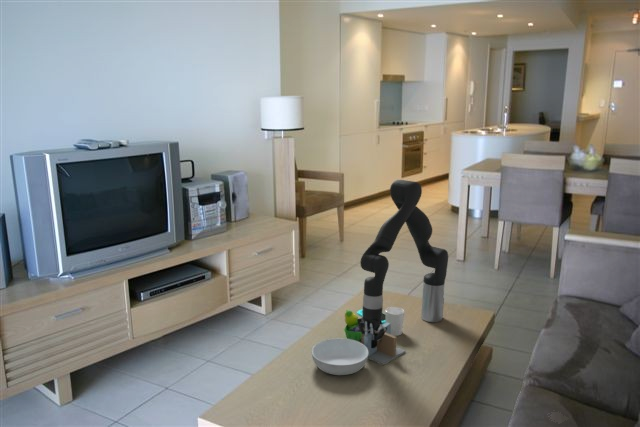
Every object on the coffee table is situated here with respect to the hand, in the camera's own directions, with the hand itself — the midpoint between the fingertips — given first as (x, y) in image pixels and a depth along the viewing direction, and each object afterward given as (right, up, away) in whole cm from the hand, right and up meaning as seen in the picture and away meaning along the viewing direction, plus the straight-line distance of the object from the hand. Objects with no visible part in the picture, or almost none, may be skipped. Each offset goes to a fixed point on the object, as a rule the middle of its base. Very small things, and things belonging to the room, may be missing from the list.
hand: (370, 346), depth 201 cm
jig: (+3, -3, +4) cm, 6 cm away
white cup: (+12, 0, +21) cm, 24 cm away
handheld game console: (+5, +4, +37) cm, 37 cm away
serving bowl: (-12, -6, -8) cm, 16 cm away
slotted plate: (+3, -2, +4) cm, 5 cm away
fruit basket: (-5, 0, +16) cm, 17 cm away
